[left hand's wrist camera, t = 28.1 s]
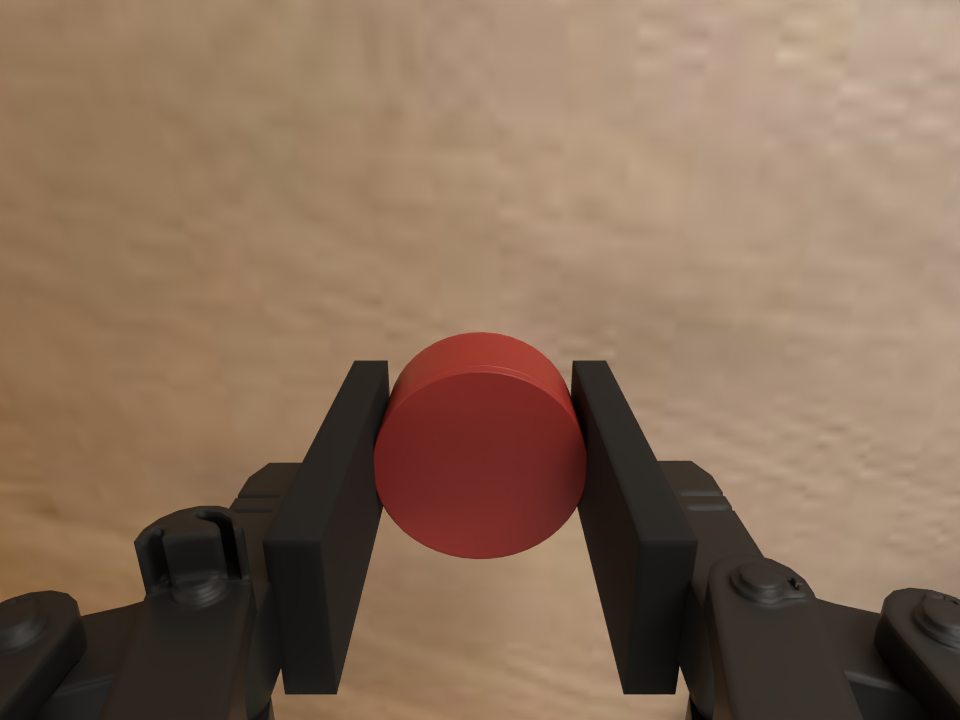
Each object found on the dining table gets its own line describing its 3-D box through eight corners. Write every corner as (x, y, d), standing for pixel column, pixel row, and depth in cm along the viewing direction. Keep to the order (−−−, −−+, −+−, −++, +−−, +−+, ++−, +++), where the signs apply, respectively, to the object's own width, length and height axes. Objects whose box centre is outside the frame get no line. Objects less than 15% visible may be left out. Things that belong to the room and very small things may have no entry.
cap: (468, 292, 14) (466, 326, 11) (611, 409, 15) (633, 460, 12) (351, 428, 15) (328, 482, 13) (490, 527, 16) (492, 593, 14)
